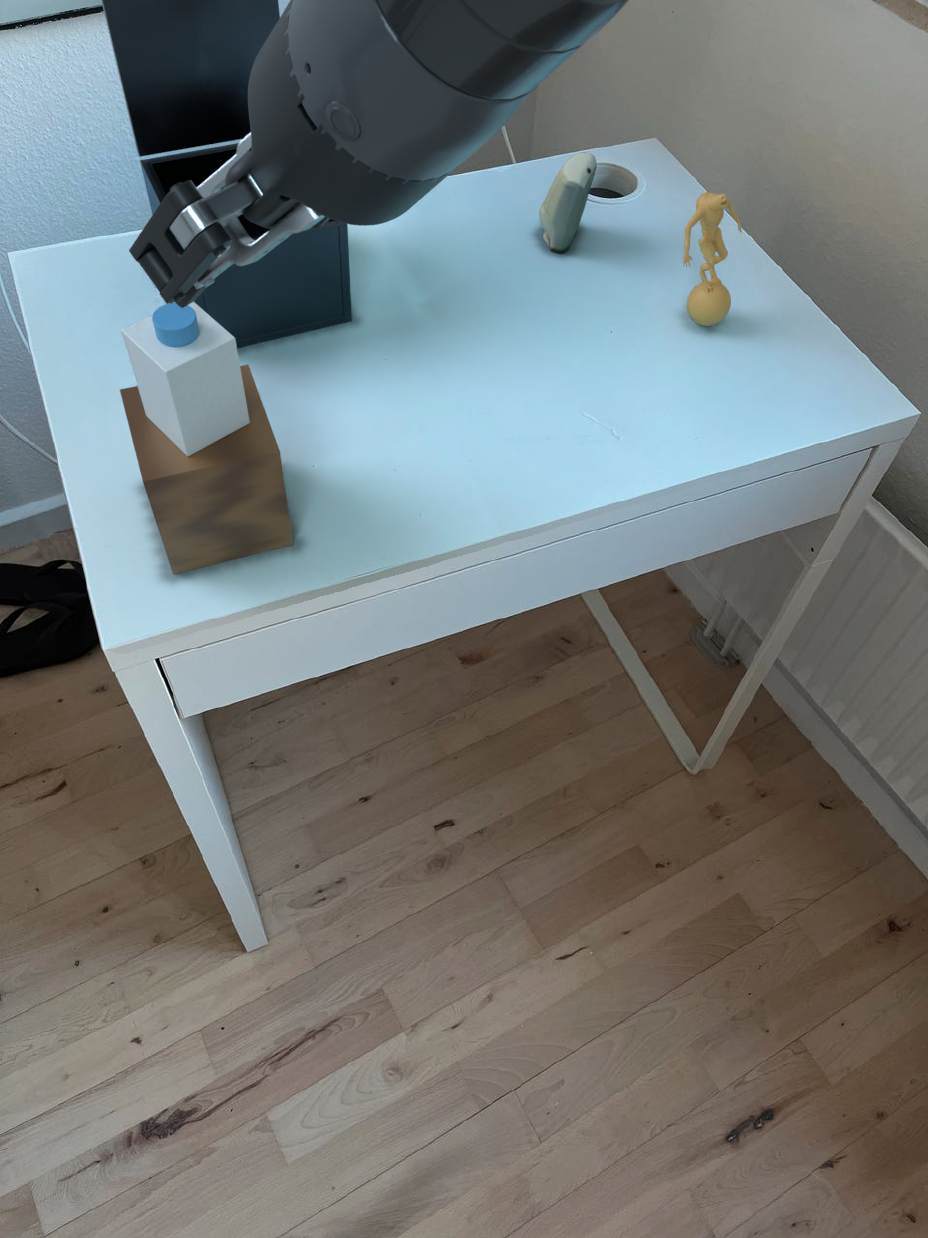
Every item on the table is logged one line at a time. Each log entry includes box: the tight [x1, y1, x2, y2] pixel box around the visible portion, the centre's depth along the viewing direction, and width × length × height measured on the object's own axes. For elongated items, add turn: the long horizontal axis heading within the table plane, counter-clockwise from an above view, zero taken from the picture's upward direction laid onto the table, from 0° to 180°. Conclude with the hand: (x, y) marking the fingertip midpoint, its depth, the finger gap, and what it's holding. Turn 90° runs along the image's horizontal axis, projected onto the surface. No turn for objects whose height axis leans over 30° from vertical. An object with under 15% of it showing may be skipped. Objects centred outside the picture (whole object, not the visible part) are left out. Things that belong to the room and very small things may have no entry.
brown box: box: [119, 364, 294, 575], centre depth 68 cm, size 9×9×10 cm
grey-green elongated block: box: [538, 151, 598, 255], centre depth 91 cm, size 6×5×8 cm
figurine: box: [682, 191, 743, 327], centre depth 84 cm, size 8×6×12 cm
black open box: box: [139, 142, 353, 349], centre depth 83 cm, size 15×14×10 cm
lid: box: [100, 0, 281, 157], centre depth 77 cm, size 15×14×4 cm
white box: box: [120, 302, 250, 456], centre depth 60 cm, size 5×5×8 cm
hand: (241, 246), depth 46 cm, fingers open, 8 cm apart
